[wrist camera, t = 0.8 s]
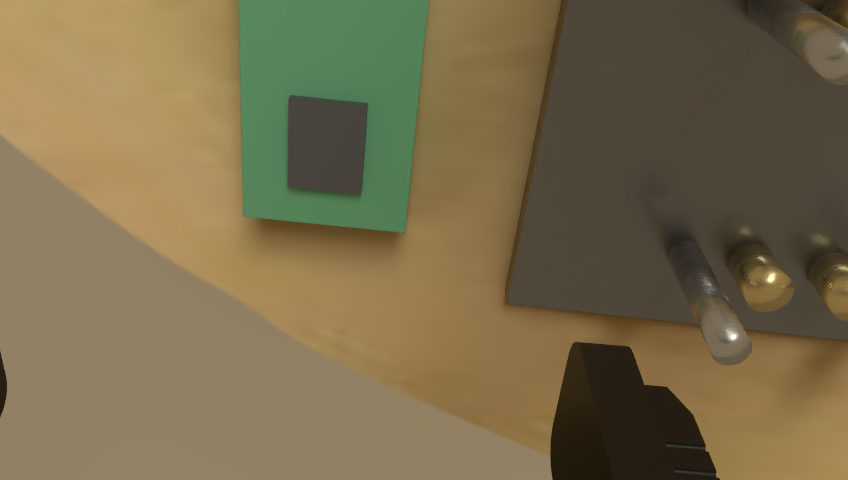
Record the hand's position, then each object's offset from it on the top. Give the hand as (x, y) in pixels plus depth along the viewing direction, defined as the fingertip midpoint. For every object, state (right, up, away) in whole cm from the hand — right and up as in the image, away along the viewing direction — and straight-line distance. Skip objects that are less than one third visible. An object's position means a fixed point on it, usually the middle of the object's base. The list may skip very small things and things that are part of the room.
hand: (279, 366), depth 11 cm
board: (-1, +9, +15) cm, 17 cm away
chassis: (+16, +5, +16) cm, 23 cm away
